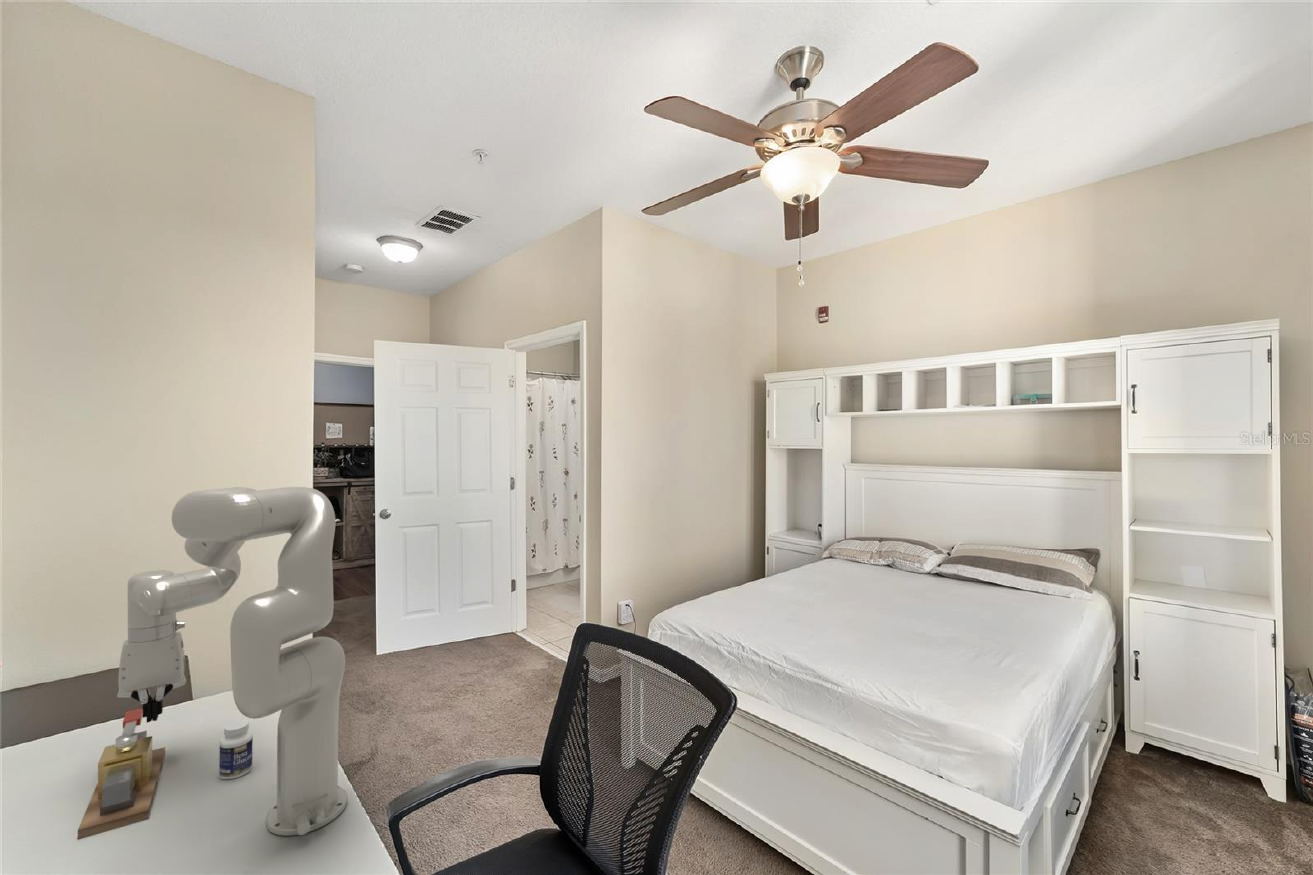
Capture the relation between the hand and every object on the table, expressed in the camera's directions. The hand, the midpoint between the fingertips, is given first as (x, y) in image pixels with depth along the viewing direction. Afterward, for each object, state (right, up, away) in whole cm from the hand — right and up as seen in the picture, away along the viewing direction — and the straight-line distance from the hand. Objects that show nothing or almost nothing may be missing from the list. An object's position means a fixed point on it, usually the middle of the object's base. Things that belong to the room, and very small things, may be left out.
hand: (152, 718), depth 118 cm
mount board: (+3, -9, -9) cm, 14 cm away
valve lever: (0, -1, -5) cm, 5 cm away
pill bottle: (+20, -10, -3) cm, 22 cm away
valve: (+3, -8, -9) cm, 13 cm away
